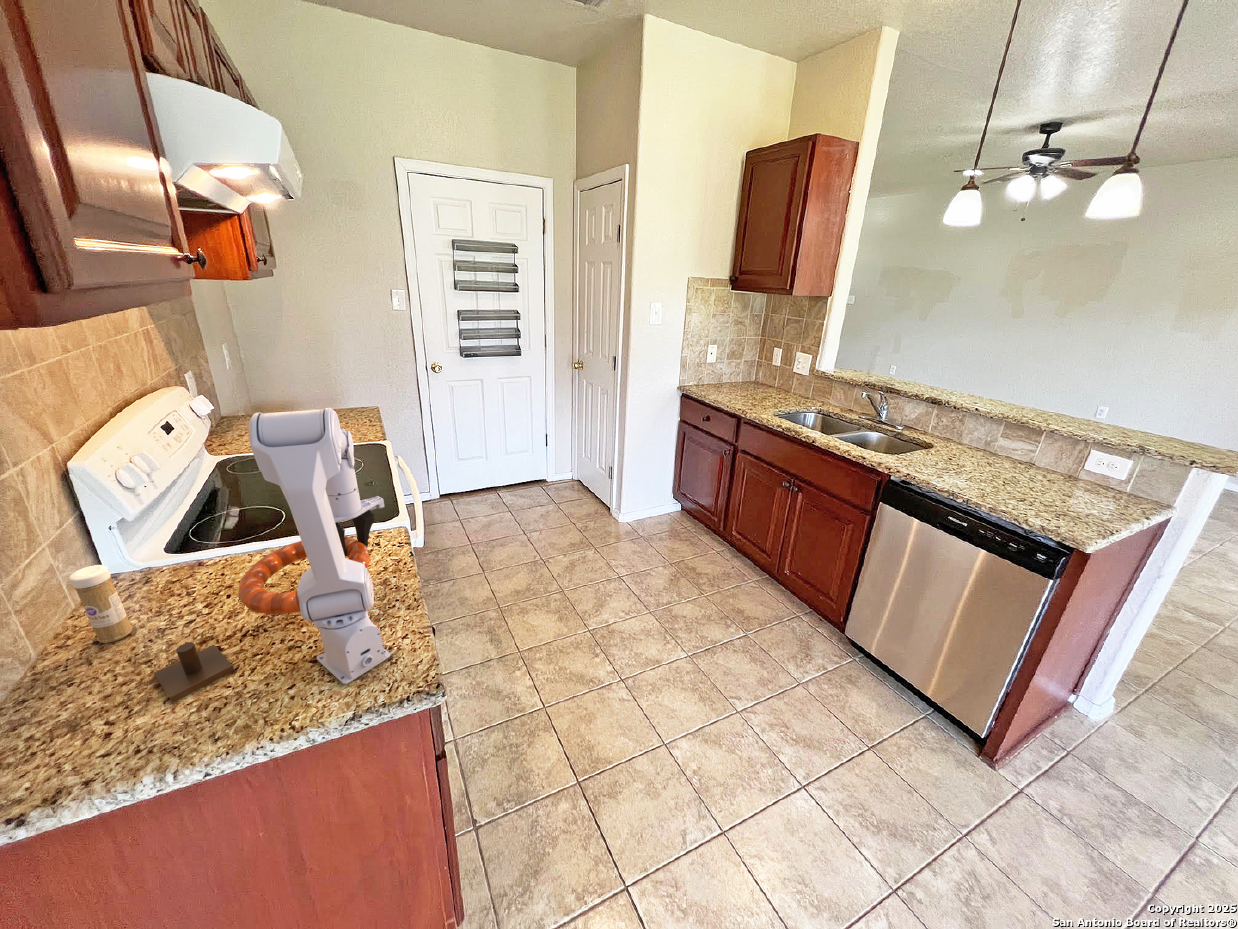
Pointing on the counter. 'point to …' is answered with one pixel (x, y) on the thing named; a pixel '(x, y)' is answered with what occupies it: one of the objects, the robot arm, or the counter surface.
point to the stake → (192, 670)
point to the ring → (260, 572)
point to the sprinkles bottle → (101, 603)
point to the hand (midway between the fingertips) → (353, 550)
